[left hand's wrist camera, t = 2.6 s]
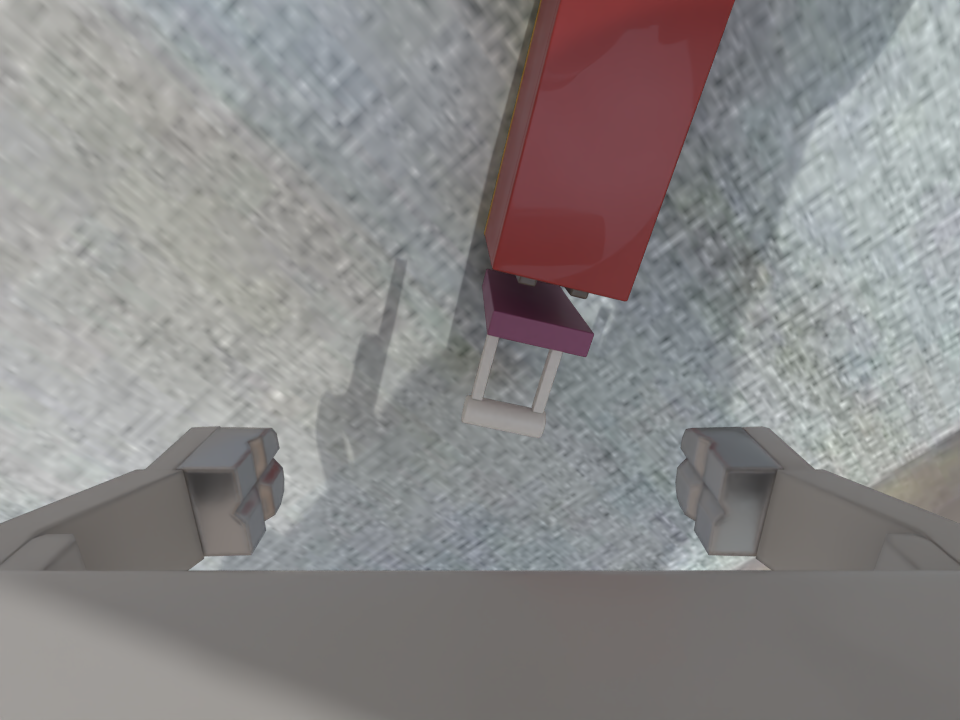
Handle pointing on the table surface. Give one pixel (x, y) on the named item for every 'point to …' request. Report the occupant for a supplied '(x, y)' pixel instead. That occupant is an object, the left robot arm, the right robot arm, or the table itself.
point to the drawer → (531, 320)
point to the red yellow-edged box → (598, 137)
